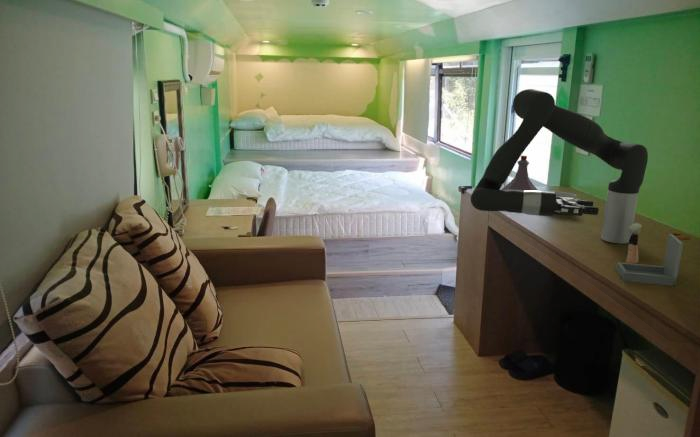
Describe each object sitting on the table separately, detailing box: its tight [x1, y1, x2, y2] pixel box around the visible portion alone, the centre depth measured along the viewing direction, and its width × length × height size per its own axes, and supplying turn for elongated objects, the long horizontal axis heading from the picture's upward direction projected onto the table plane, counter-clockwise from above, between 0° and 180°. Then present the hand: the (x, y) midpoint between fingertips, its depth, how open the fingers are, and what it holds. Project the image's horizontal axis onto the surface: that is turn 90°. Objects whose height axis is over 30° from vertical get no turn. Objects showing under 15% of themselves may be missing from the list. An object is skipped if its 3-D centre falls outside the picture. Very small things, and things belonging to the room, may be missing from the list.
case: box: [615, 233, 684, 287], centre depth 146 cm, size 9×13×12 cm
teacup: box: [552, 191, 577, 214], centre depth 216 cm, size 14×11×8 cm
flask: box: [501, 155, 539, 191], centre depth 236 cm, size 16×16×20 cm
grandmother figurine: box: [624, 222, 643, 264], centre depth 156 cm, size 8×4×13 cm, turn 157°
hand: (595, 207), depth 157 cm, fingers open, 8 cm apart
